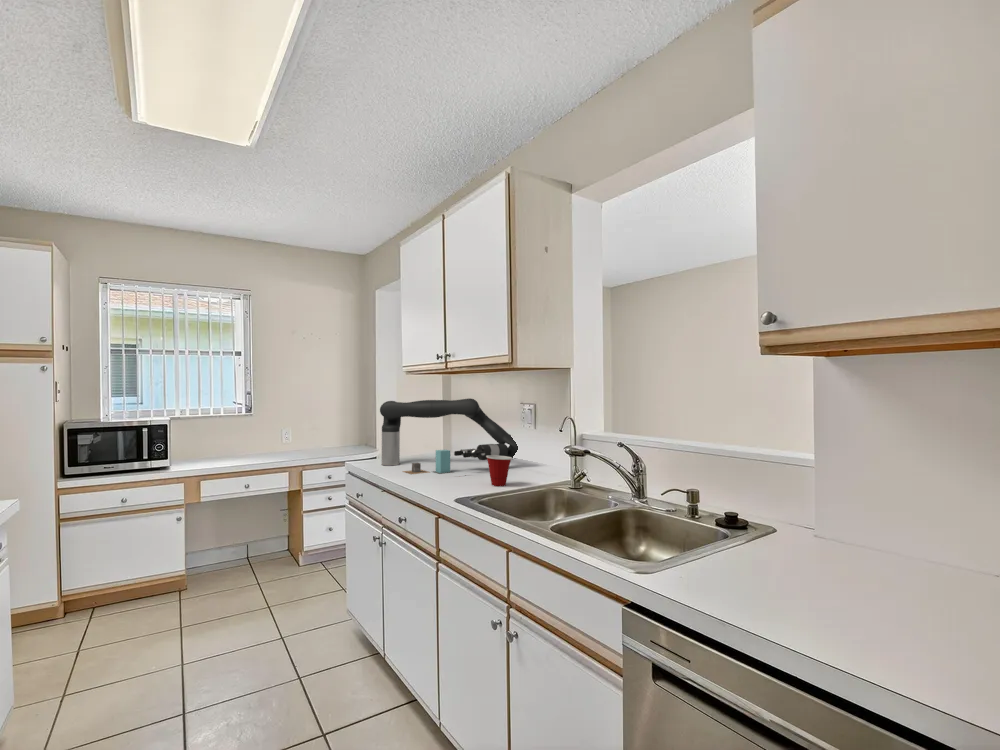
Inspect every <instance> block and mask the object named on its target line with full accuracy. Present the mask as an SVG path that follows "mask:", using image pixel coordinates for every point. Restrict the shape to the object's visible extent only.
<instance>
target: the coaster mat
mask: <svg viewBox="0 0 1000 750" xmlns="http://www.w3.org/2000/svg"><path fill="white" fill-rule="evenodd" d="M432 473H434V474H436V475H437V474H439V475H443V474H446V473H438V472H436V470H433V471H432ZM451 473H452V474H453V473H455V471H451V470H450V472H448V473H447V474H451Z"/></svg>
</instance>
